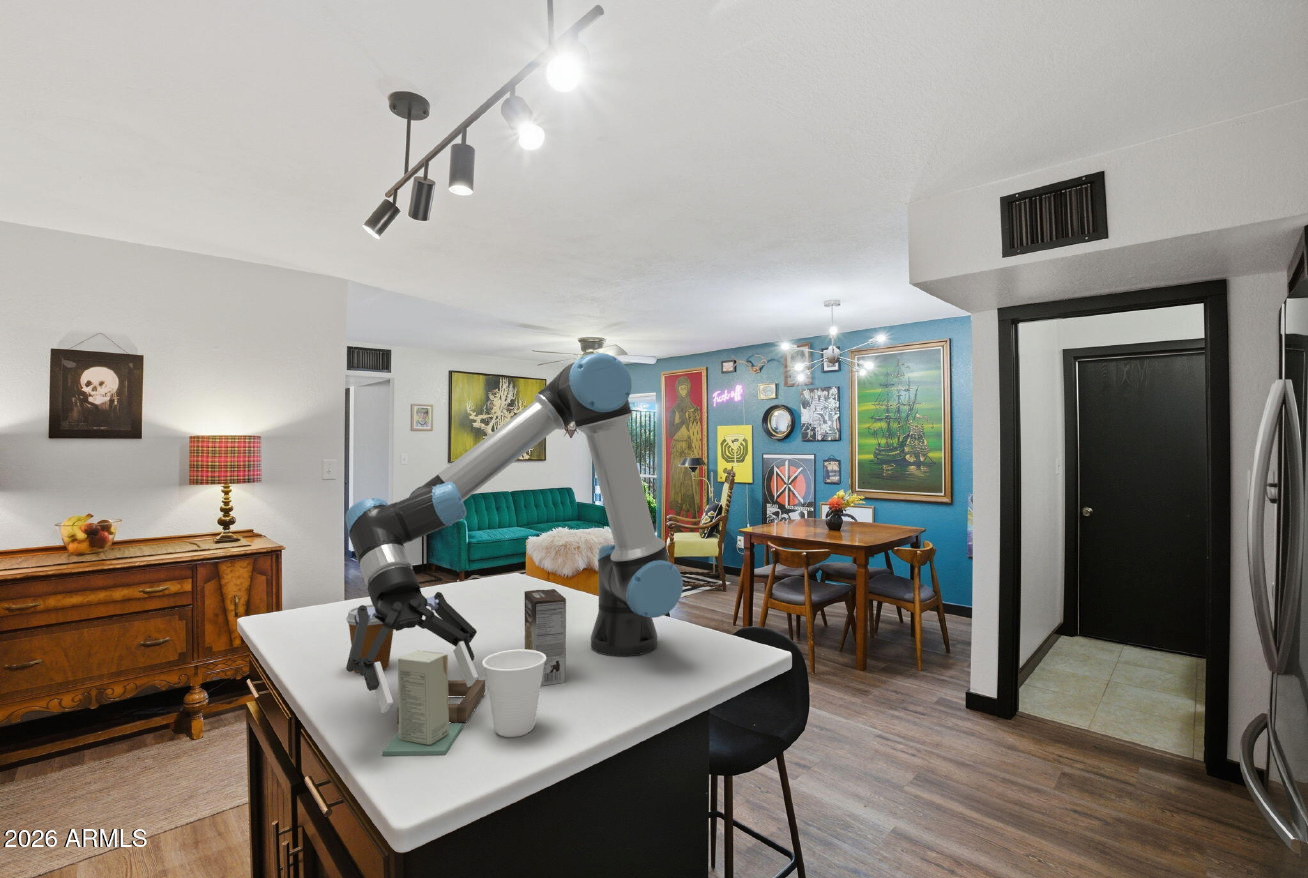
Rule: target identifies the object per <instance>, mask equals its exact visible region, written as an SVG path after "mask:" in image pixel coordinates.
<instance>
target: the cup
mask: <svg viewBox="0 0 1308 878" xmlns="http://www.w3.org/2000/svg"><path fill="white" fill-rule="evenodd" d="M545 661H546V656H545V654H543V653H541V652H539V651H535V650H526V649H525V648H524V649H523V648H522V649H521V648H520V649H509V650H508V649H507V650H503V651H499V652H495V653H492V654H489V655H488V656H486V657H485V658H484V659H483V660H482V666H483V667H484V674H485V682H486V685H487V686H486V687H487V691H488V696H489V703H490V704H489V705H490V710H491V715H492V716H491V718H492V723H493V729H494V731H495V733H496V734H497V735H498V736H499V735H500V736H501V737H504V738H516V737H521V736H525V735H527V734H529V733H530V732H531V731H532V730H533V729H534V728H535V724H536V720H537V719H536V718H537V711H538V706H539V699H540V692H541V687H542V686H541V682H542V675H543V669H544V663H545ZM528 732H529V733H528Z"/></svg>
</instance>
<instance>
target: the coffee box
mask: <svg viewBox="0 0 1308 878" xmlns="http://www.w3.org/2000/svg"><path fill="white" fill-rule="evenodd" d="M566 639H567V598H566V597H564V596H563V595H562V594H561V593H560V592H559V591H558V590H556V589H555V588H553V589H533V590H525V591H524V649H526V650H535V651H539V652H541V653H543V654H545V656H546V661H545V663H544V669H543V675H542V682H541V686H540V687H543V686H544V687H545V686H550V685H556V684H562V683H563V684H564V683H566V678H567V677H566V673H567V672H566V671H567V670H566V668H567V665H566V663H567V657H566V656H567V651H566V649H567V642H566V641H567V640H566Z"/></svg>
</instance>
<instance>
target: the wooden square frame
mask: <svg viewBox="0 0 1308 878" xmlns="http://www.w3.org/2000/svg"><path fill="white" fill-rule="evenodd" d="M484 693H485V694H486V679H476V681H475V682H474V683H473V685H472V686H470V687H467V684H466V682H465V679H456V680H455V679H451V680H450V679H448V696H465V697H462V700H461V701H460V702H459V703H449V722H466V721H467V720H468V721H469V719H470V718H471V716H472V714H473V713H474V711H475V710H476V708H477V707H478V705H479V704H478V703H480V702H481V701H482V699H483V698H484V696H485V695H484ZM483 695H484V696H483ZM482 697H483V698H482ZM481 698H482V699H481ZM480 700H481V701H480ZM479 701H480V702H479ZM477 704H478V705H477ZM476 706H477V707H476ZM474 709H475V710H474ZM472 712H473V713H472ZM469 717H470V718H469ZM468 718H469V719H468ZM468 721H467V722H468ZM396 722H397V724H398V725H399V706H397V721H396ZM467 722H466V723H467Z"/></svg>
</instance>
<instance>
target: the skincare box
mask: <svg viewBox="0 0 1308 878" xmlns="http://www.w3.org/2000/svg"><path fill="white" fill-rule="evenodd" d="M448 656H449V654H448V653H442V652H435V651H425V650H415V651H413V652H411V653H408V654H405V655H402V656H400V657H398V658H397V677H398V678H397V687H398V688H397V689H398V694H397V695H398V698H397V699H398V707H399V724H398V733H399V739H401V740H405V741H411V742H416V743H421V744H427V745H431V744H432V743H434V742H436V741H437V740H439V739H441V738H442V737H444V736H446V735H447V734H449V704H450V703H449V697H448V680H449V657H448Z"/></svg>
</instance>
